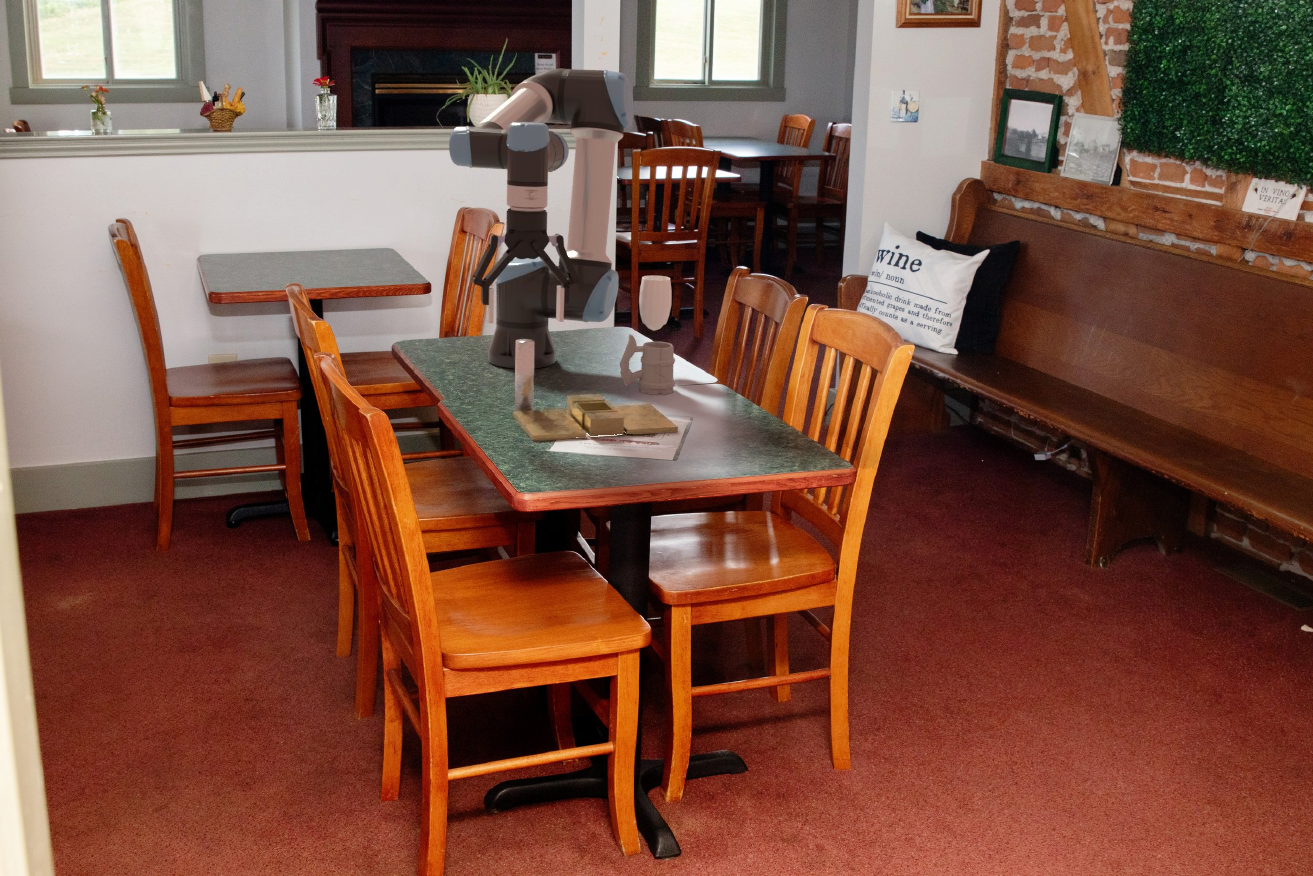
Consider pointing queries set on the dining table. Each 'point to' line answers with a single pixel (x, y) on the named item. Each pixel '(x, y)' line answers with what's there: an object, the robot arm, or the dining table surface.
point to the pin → (524, 375)
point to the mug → (650, 366)
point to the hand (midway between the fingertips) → (525, 321)
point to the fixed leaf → (571, 421)
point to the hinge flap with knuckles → (632, 416)
